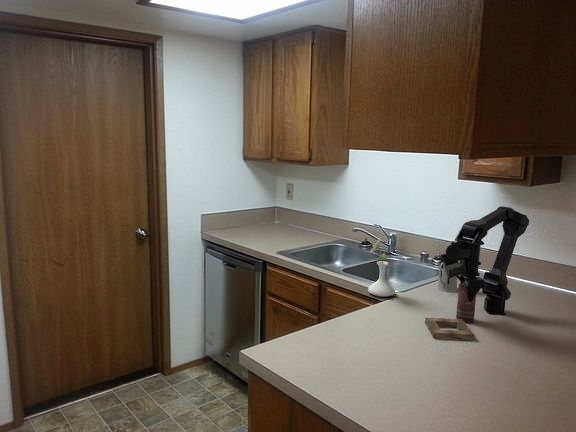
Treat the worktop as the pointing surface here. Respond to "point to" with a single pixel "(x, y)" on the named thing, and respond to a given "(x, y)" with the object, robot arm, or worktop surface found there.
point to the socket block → (461, 334)
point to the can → (465, 305)
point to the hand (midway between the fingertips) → (467, 299)
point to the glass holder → (444, 281)
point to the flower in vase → (381, 277)
